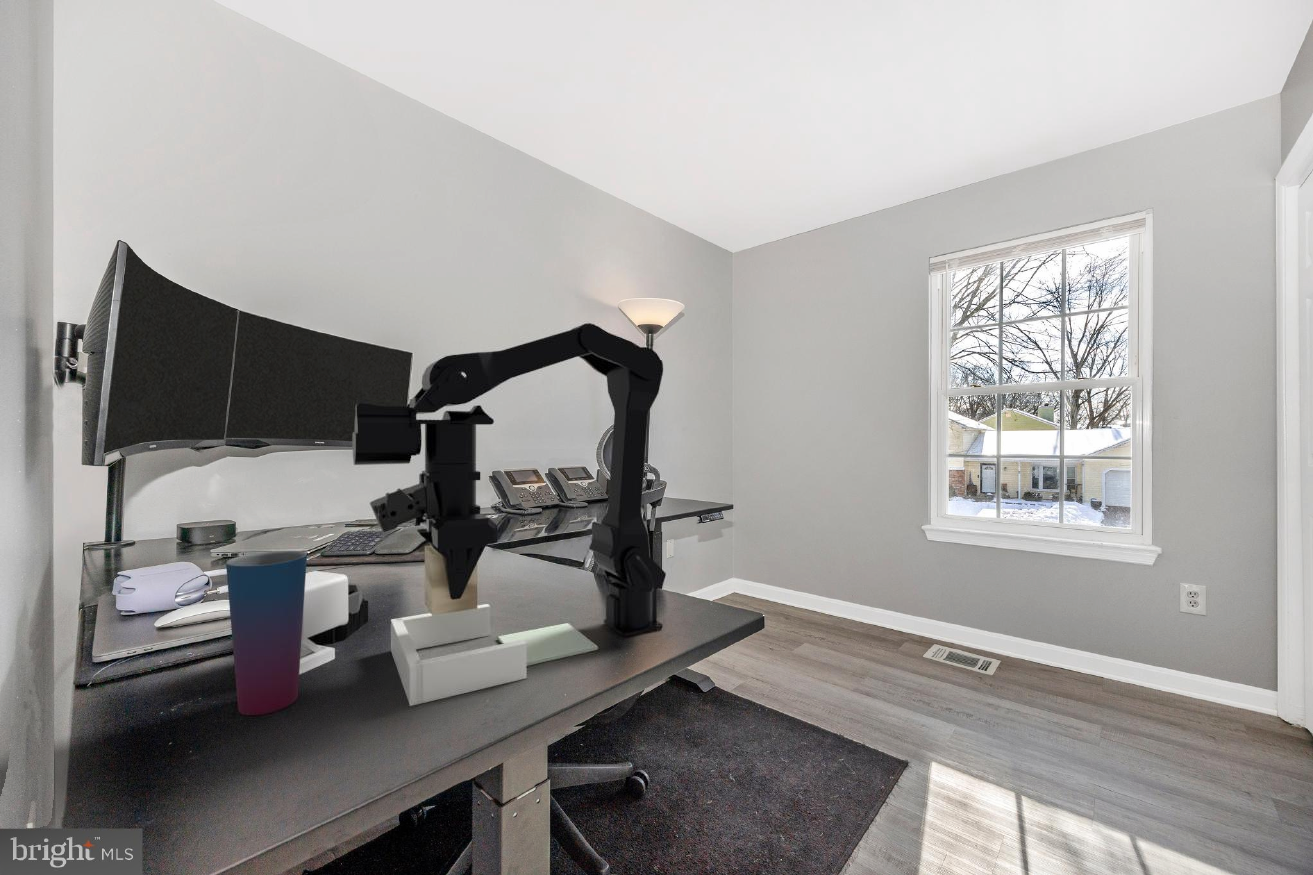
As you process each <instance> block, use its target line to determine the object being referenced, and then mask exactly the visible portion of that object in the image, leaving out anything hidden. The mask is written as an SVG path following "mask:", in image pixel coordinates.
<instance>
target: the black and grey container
mask: <svg viewBox="0 0 1313 875" xmlns="http://www.w3.org/2000/svg"><path fill="white" fill-rule="evenodd" d="M363 588H364V587H363V586H362V585H359V584H356V583H349V582H348V622H347V624H345V625H339V626H337V627H334V628H332V629H329V630H326V631H324V632H321V633H319V634H316V635H313V636H311V637H308V638H307V639H309V640H310V641H312V642H313V643H315V644H335V642H336V641H345V640H346V639H347V638H349V637H350V636H351V635H353V634H354V633H355V632H357V631H358V630H359V629H360V628H361V627H363V626H364V625H365V624H366V623H368V621H369V600H365V598H363V592H364V590H363Z"/></svg>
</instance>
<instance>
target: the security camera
mask: <svg viewBox="0 0 1313 875" xmlns="http://www.w3.org/2000/svg"><path fill="white" fill-rule="evenodd" d="M348 583H349V578H348V577H347V575H346V574H343V573H336V572H335V573H334V572H327V571H318V570H313V571H309V572H306V578H305V593H304V608H303V623H302V638H301V653H300V669H299V676H300V675H302V674H304V673H306V672H308V671H310V670H313V669H316V668H317V667H320V666H322V665H324V664H326V663H329V662H331V661H333V660H335V658H336V655H335V654H336V652H335V647H330V646H323V645H319V644H317V643H313V642H312V641H310V640H309V639H307V638H308V637H311V636H313V635H316V634H319V633H321V632H324V631H326V630H329V629H332V628H334V627H337V626H339V625H345V624H347V622H348Z"/></svg>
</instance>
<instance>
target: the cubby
mask: <svg viewBox="0 0 1313 875" xmlns="http://www.w3.org/2000/svg"><path fill="white" fill-rule="evenodd" d="M489 636H491V605H489V603H485V604H477V608H476V609H470V610H464V611H458V612H452V613H446V614H439V615H433V616H432V614H431V613H430V612H429V613H423V614H417V615H416V614H415V615H410V616H403V617H398V618H392V619H390V651H391V654H392V658H393V660H394V663H395V667H396V669H397V673H398V675H399V678H400V681H401V685H402V687H403V689H404V693H405V696H406V698H407V702H408V704H409V706H410V707H412V706H416V705H420V704H424V703H425V704H426V703H428V702H429V703H430V702H432V701H436V700H440V699H441V700H442V699H445V698H450V697H453V696H457V695H462V694H466V693H470V692H474V691H478V690H483V689H488V688H491V687H495V686H500V685H503V684H504V685H505V684H508V683H513V682H516V681H517V682H518V681H521V680H525V679H527V666H526V644H527V643H526V642H525V641H524V640H520V641H515V642H510V643H505V644H502V643H501V644H496V645H491V646H484V647H481V648H476V649H471V650H466V651H462V652H457V653H456V652H455V653H450V654H445V655H441V656H435V657H431V658H426V659H422V660H421V658H420V655H419V654H418V651H417V650H421V649H425V648H430V647H437V646H440V645H446V644H451V643H452V644H453V643H456V642H463V641H467V640H472V639H477V638H478V639H479V638H484V637H489Z"/></svg>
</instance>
